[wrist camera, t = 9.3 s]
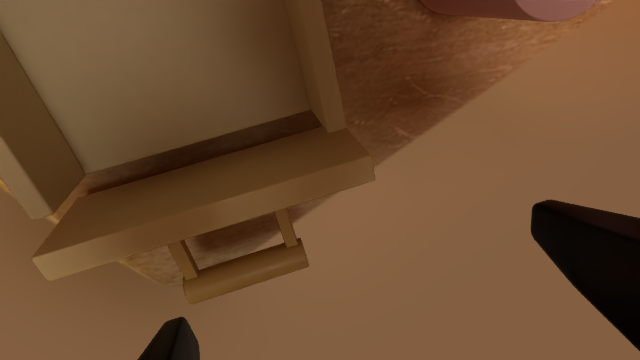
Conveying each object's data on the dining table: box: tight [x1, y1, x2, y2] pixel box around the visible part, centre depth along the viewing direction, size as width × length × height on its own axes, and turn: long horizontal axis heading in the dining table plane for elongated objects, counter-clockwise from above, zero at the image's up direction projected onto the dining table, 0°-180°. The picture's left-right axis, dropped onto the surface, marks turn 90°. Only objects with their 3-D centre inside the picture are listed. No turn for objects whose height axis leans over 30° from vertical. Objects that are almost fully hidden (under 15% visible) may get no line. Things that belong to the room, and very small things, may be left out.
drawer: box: [0, 0, 375, 304], centre depth 15 cm, size 17×13×5 cm
